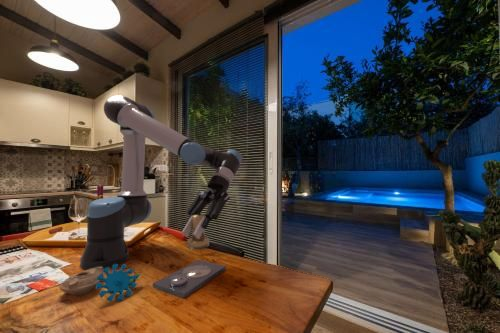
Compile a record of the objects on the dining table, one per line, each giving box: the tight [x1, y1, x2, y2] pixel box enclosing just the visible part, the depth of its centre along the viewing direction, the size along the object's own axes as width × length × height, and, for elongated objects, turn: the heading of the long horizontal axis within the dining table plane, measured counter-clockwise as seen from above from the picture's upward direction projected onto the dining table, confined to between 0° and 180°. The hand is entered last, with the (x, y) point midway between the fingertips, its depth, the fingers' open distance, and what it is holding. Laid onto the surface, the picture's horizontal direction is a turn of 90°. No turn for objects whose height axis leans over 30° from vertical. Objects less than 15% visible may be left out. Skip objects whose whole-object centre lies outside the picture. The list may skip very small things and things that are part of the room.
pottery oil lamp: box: [59, 267, 104, 296], centre depth 63 cm, size 9×12×7 cm
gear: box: [95, 263, 141, 303], centre depth 60 cm, size 11×6×10 cm
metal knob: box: [186, 213, 210, 250], centre depth 72 cm, size 7×7×10 cm
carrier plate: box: [152, 259, 227, 299], centre depth 69 cm, size 12×20×2 cm, turn 153°
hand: (190, 235), depth 68 cm, fingers closed on metal knob, 4 cm apart
